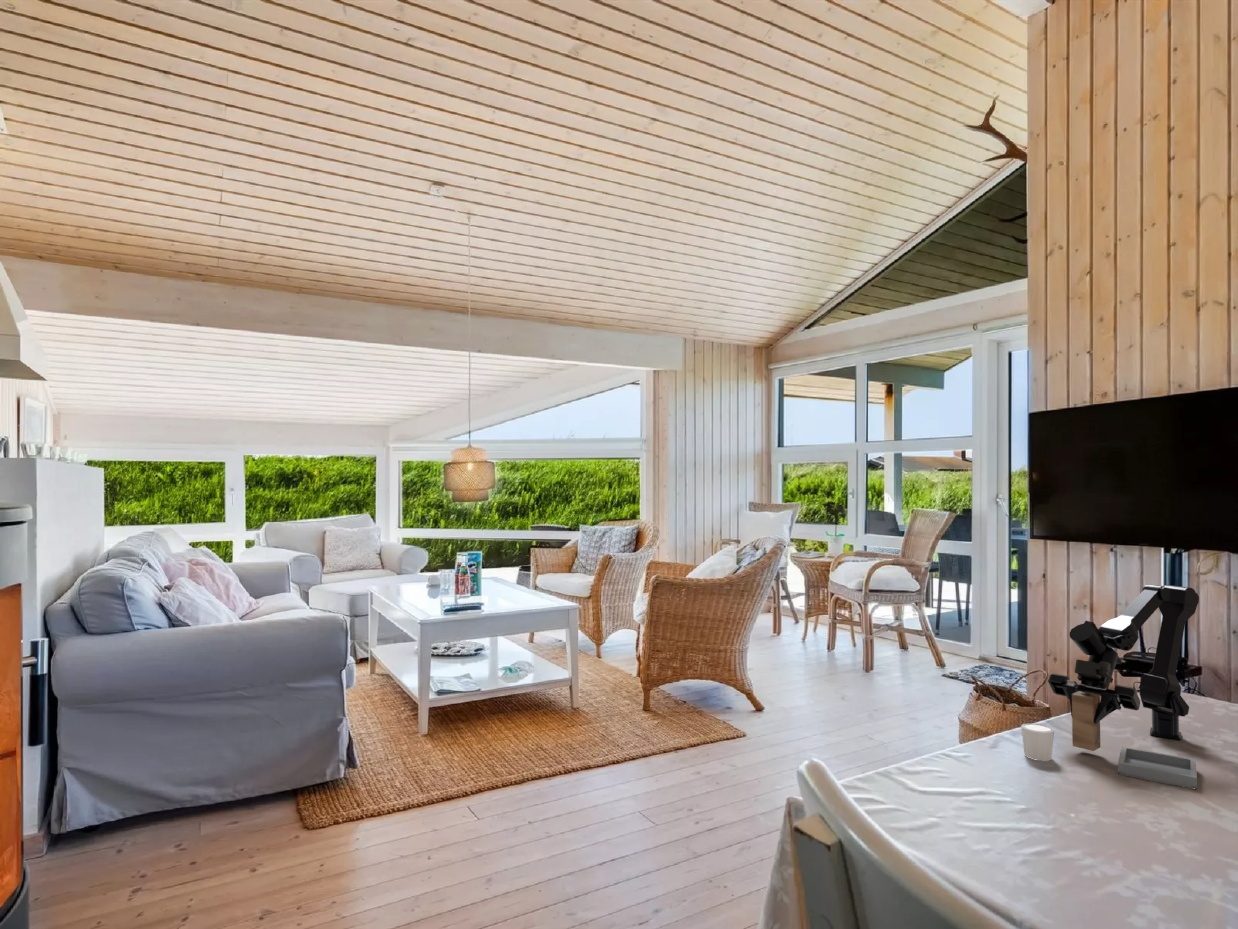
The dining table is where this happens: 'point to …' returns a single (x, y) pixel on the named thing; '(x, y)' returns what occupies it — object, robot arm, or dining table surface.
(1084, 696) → the walnut block
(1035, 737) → the white cup
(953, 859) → the dining table surface
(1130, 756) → the grey tray
